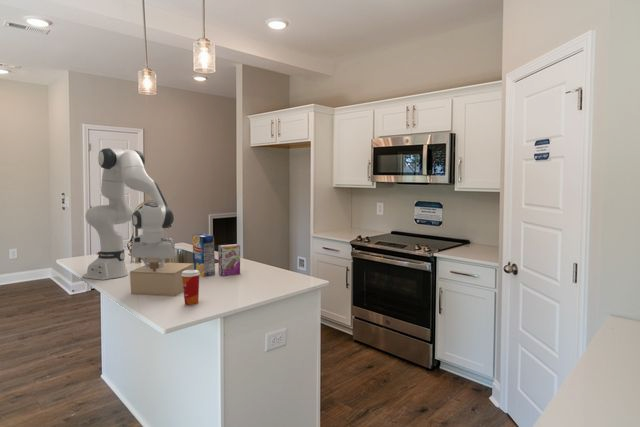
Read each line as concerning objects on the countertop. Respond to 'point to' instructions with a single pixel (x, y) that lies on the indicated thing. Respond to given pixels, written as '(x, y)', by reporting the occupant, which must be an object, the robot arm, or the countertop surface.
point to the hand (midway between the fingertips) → (154, 267)
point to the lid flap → (167, 268)
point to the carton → (157, 283)
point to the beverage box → (204, 254)
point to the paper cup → (191, 286)
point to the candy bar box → (229, 259)
